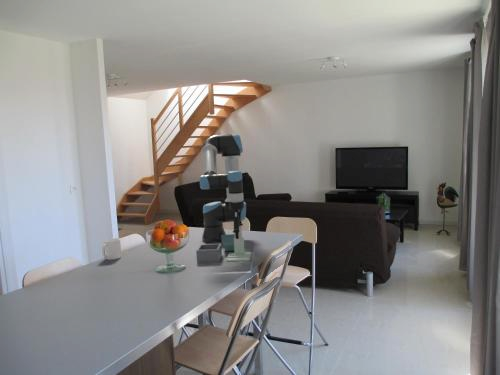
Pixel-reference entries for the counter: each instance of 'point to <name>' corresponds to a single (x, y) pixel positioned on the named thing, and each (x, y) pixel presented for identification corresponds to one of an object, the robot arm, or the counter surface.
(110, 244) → the cup
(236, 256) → the lid
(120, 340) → the counter surface
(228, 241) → the flower pot
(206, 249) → the tub
